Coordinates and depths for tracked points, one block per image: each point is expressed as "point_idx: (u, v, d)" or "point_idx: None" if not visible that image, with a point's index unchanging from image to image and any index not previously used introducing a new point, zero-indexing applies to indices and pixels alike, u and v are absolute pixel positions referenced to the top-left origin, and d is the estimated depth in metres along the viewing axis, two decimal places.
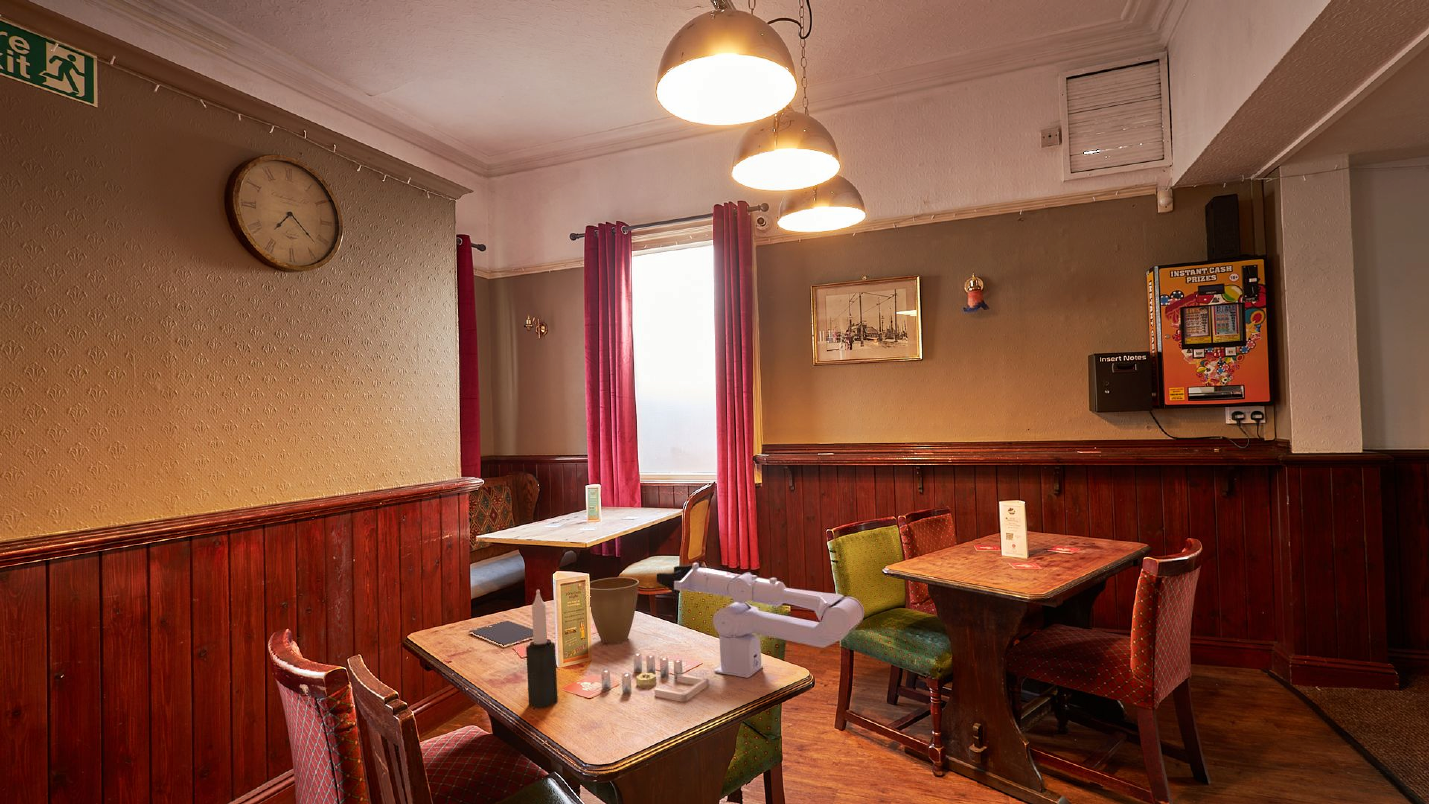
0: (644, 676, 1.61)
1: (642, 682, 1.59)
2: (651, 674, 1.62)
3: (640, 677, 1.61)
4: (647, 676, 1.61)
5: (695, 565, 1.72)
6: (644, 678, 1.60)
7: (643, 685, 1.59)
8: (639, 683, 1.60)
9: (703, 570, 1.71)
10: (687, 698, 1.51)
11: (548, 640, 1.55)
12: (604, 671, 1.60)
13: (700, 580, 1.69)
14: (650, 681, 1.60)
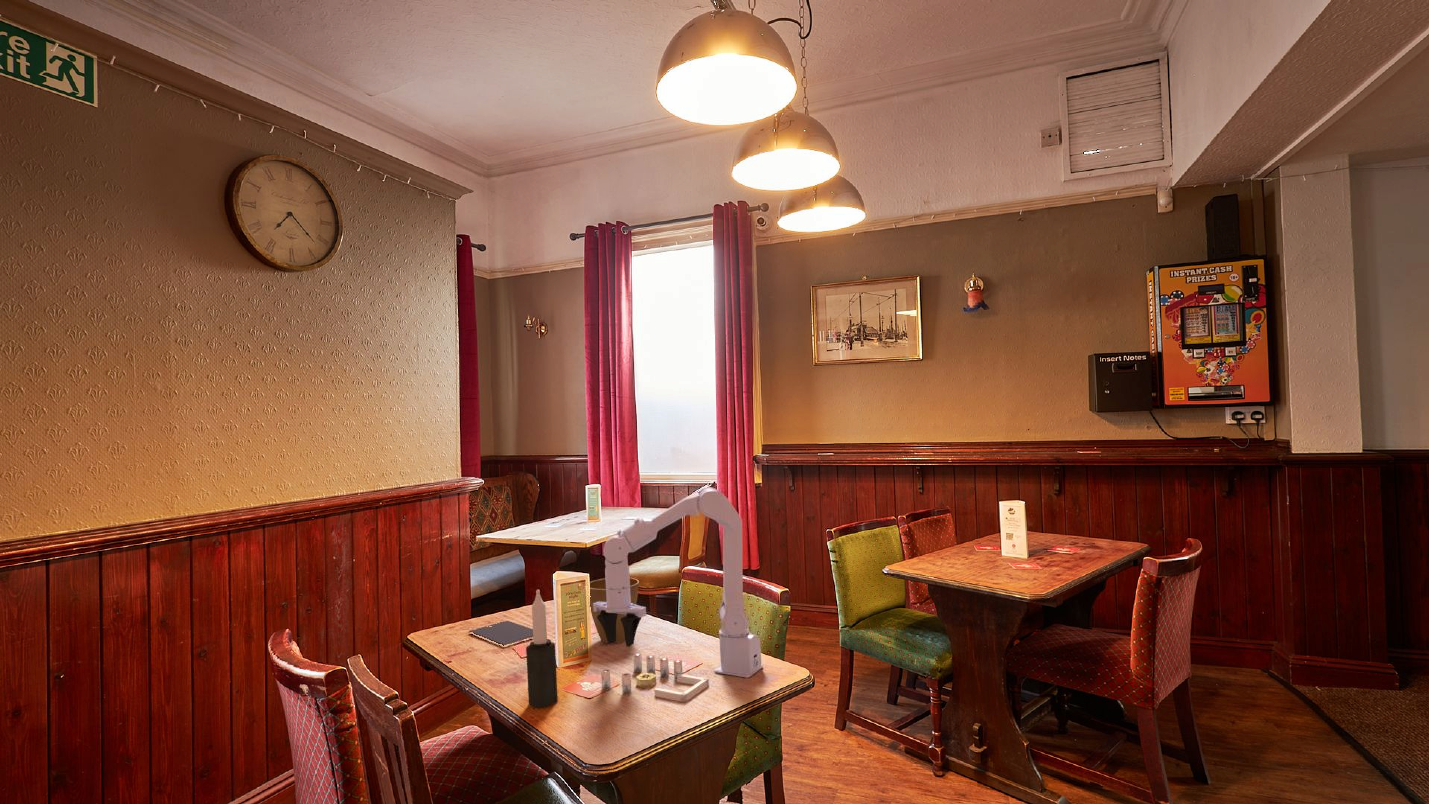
0: (644, 676, 1.61)
1: (642, 682, 1.59)
2: (651, 674, 1.62)
3: (640, 677, 1.61)
4: (647, 676, 1.61)
5: (610, 609, 1.62)
6: (644, 678, 1.60)
7: (643, 685, 1.59)
8: (639, 683, 1.60)
9: (613, 598, 1.63)
10: (687, 698, 1.51)
11: (548, 640, 1.55)
12: (604, 671, 1.60)
13: (625, 594, 1.63)
14: (650, 681, 1.60)
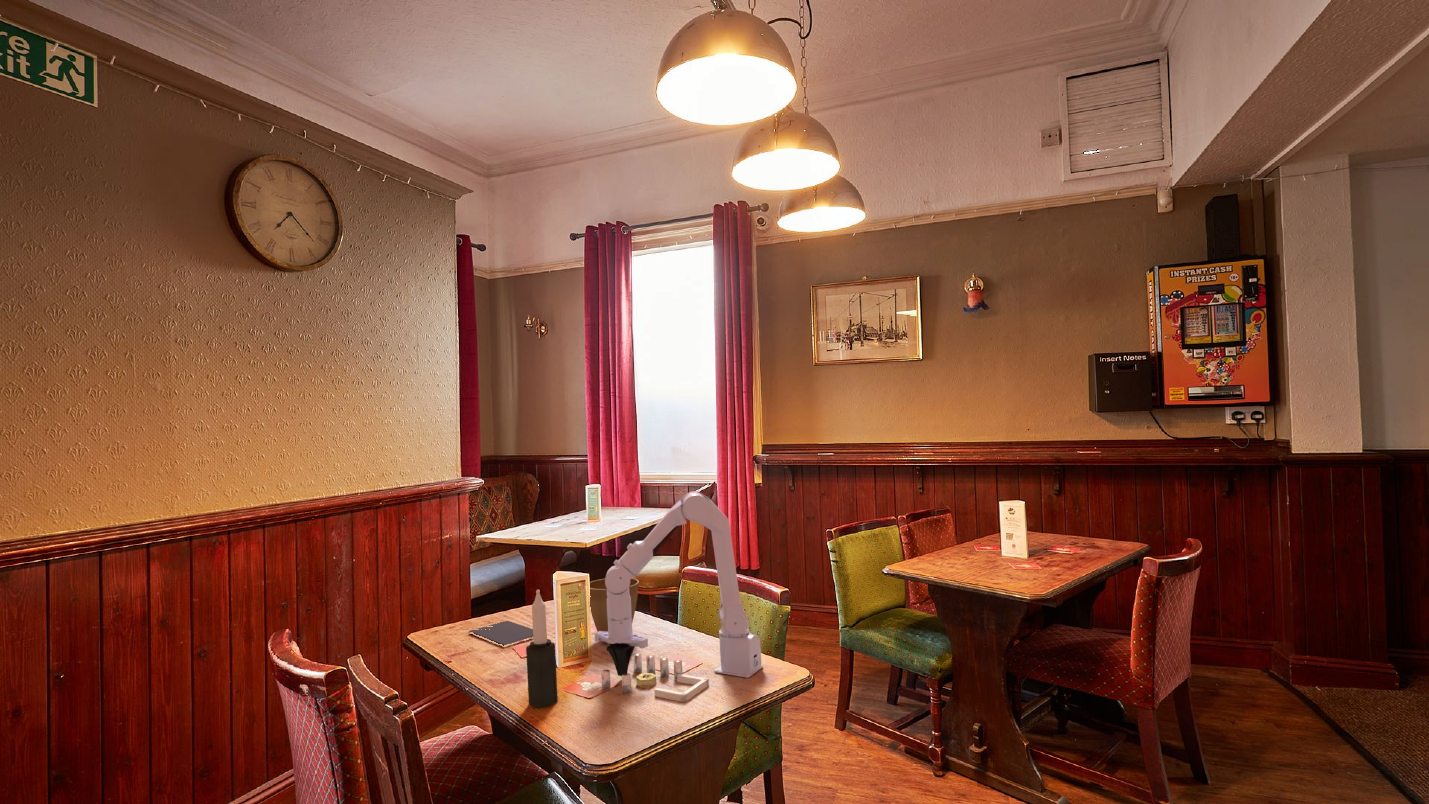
0: (644, 676, 1.61)
1: (642, 682, 1.59)
2: (651, 674, 1.62)
3: (640, 677, 1.61)
4: (647, 676, 1.61)
5: (612, 640, 1.62)
6: (644, 678, 1.60)
7: (643, 685, 1.59)
8: (639, 683, 1.60)
9: (615, 629, 1.62)
10: (687, 698, 1.51)
11: (548, 640, 1.55)
12: (604, 671, 1.60)
13: (627, 625, 1.63)
14: (650, 681, 1.60)
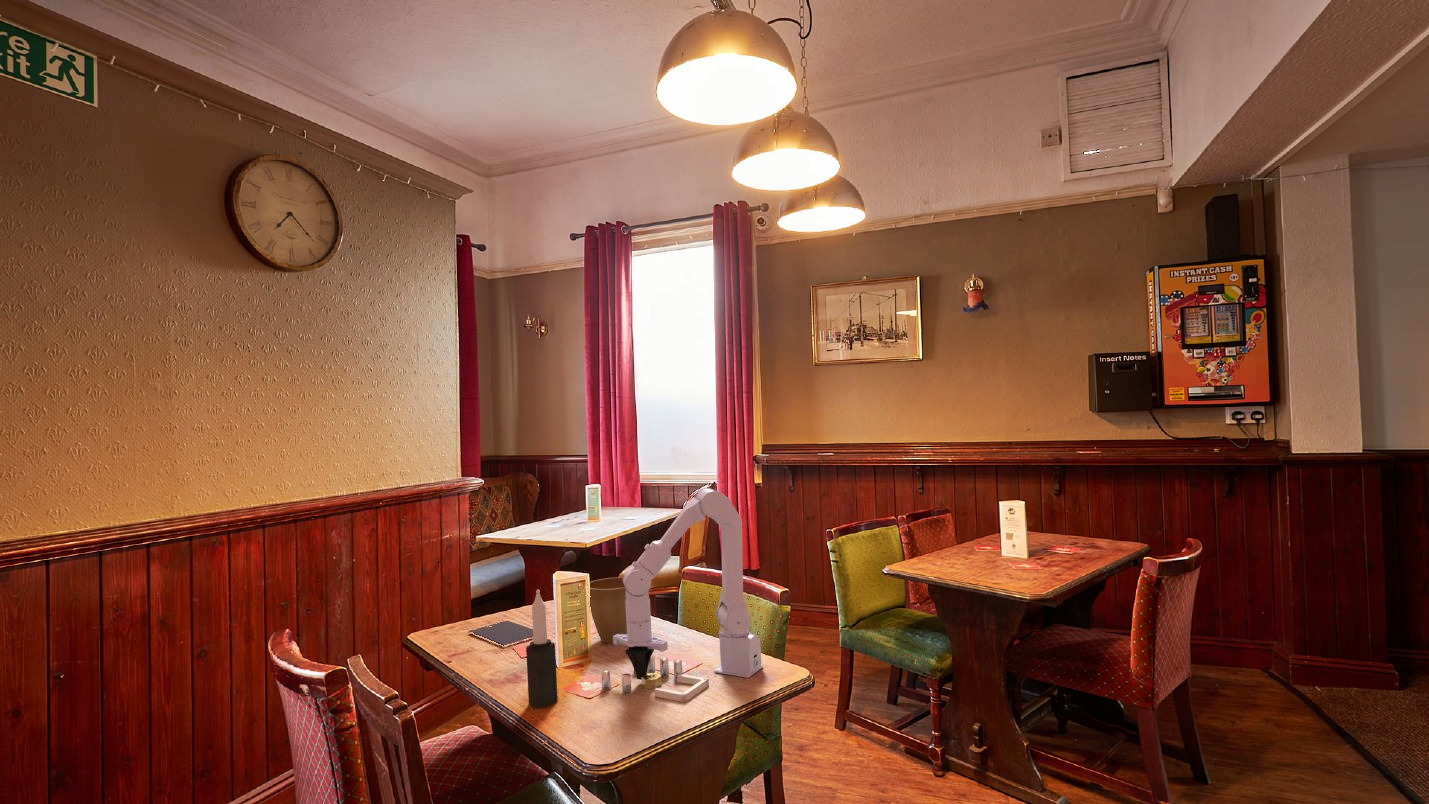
0: (649, 676, 1.60)
1: (647, 682, 1.59)
2: (656, 674, 1.62)
3: (645, 677, 1.60)
4: (652, 676, 1.60)
5: (631, 643, 1.59)
6: (649, 678, 1.60)
7: (648, 685, 1.59)
8: (644, 683, 1.59)
9: (634, 631, 1.60)
10: (687, 698, 1.51)
11: (548, 640, 1.55)
12: (604, 671, 1.60)
13: (646, 628, 1.60)
14: (655, 681, 1.59)
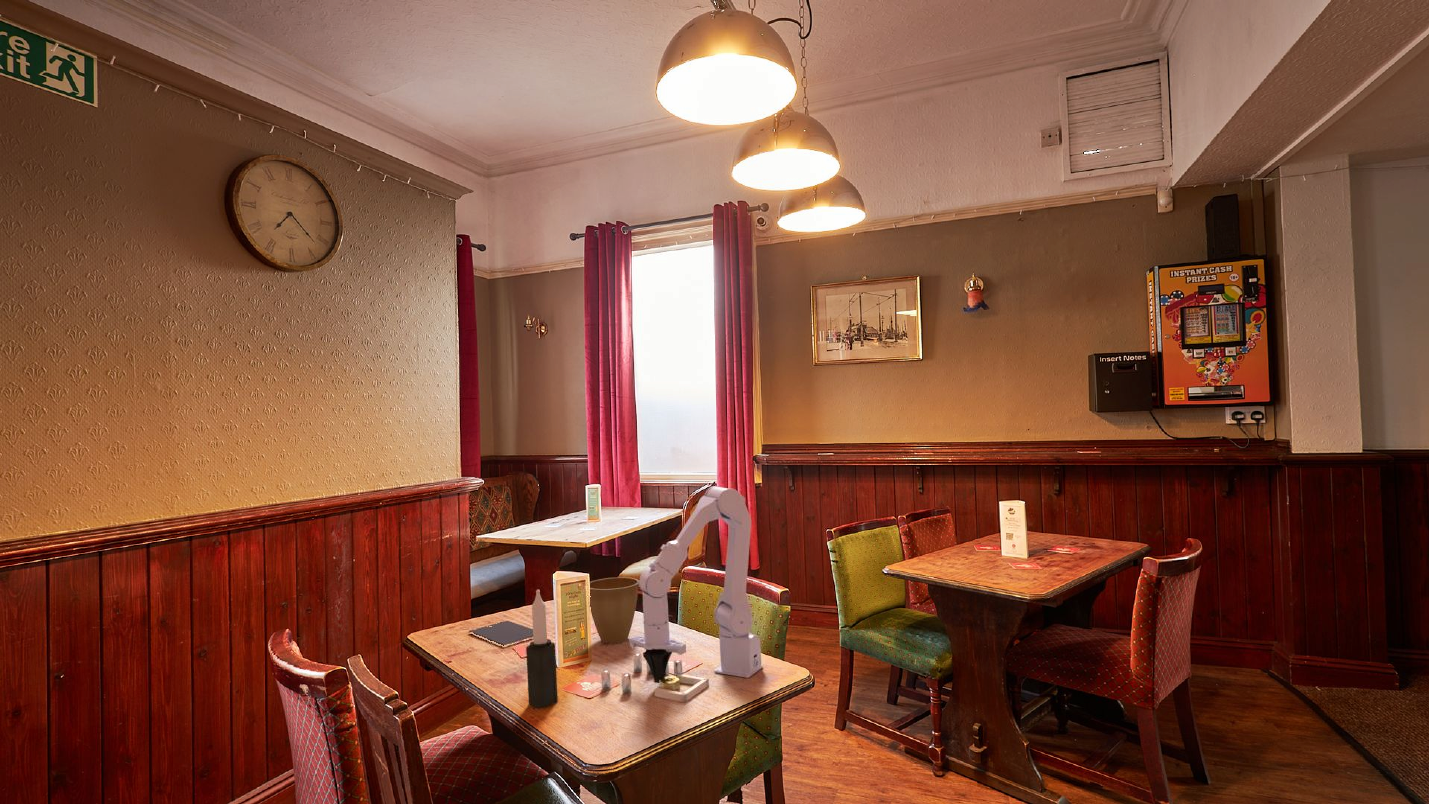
0: (667, 679, 1.58)
1: (665, 686, 1.56)
2: (674, 677, 1.59)
3: (663, 681, 1.57)
4: (670, 680, 1.58)
5: (649, 646, 1.56)
6: (667, 681, 1.57)
7: (667, 689, 1.56)
8: (662, 687, 1.56)
9: (652, 634, 1.57)
10: (687, 698, 1.51)
11: (548, 640, 1.55)
12: (604, 671, 1.60)
13: (664, 630, 1.58)
14: (674, 685, 1.56)
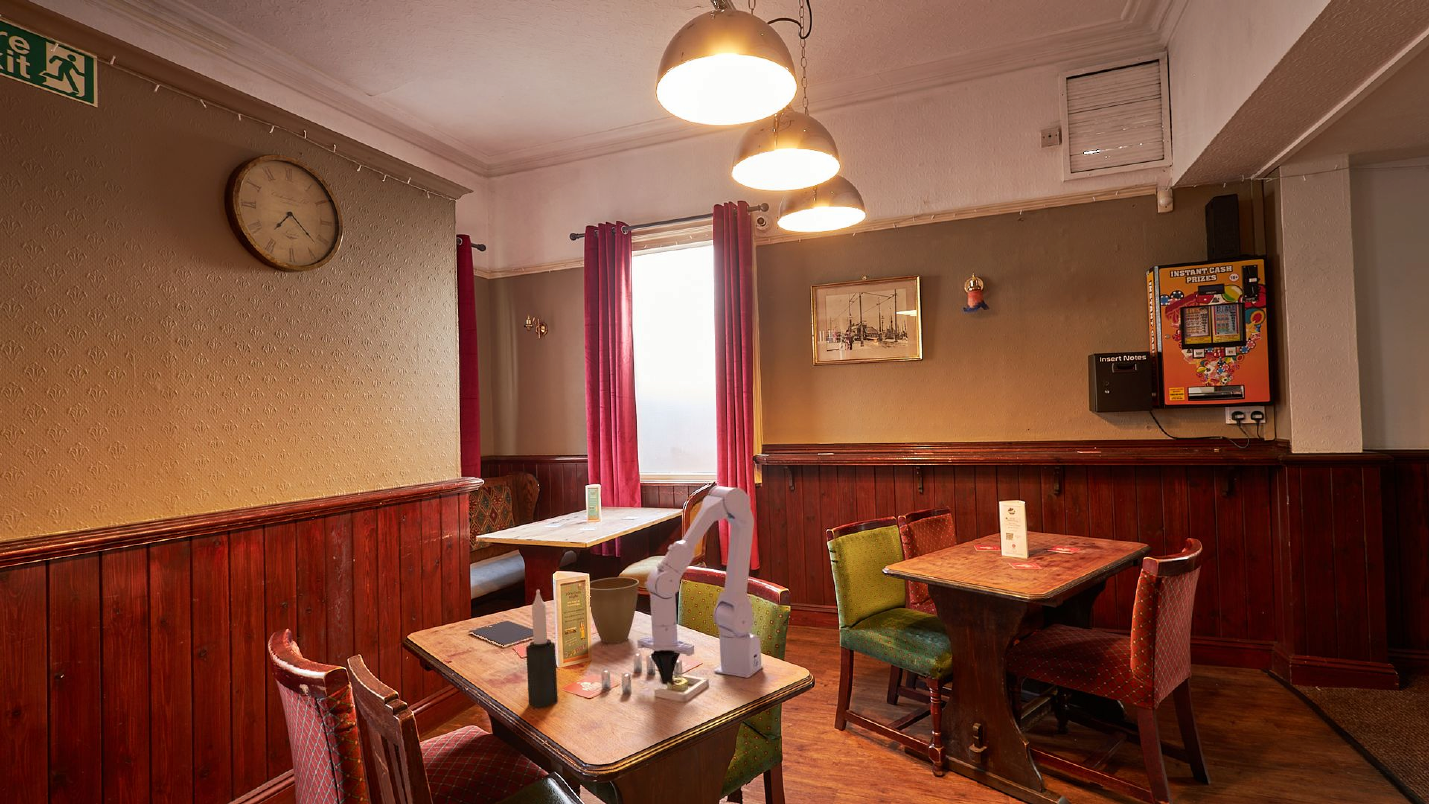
0: (675, 681, 1.57)
1: (673, 688, 1.55)
2: (682, 679, 1.58)
3: (671, 682, 1.56)
4: (678, 681, 1.56)
5: (657, 647, 1.55)
6: (675, 683, 1.56)
7: (675, 690, 1.55)
8: (670, 688, 1.55)
9: (660, 635, 1.56)
10: (687, 698, 1.51)
11: (548, 640, 1.55)
12: (604, 671, 1.60)
13: (672, 631, 1.56)
14: (682, 686, 1.55)
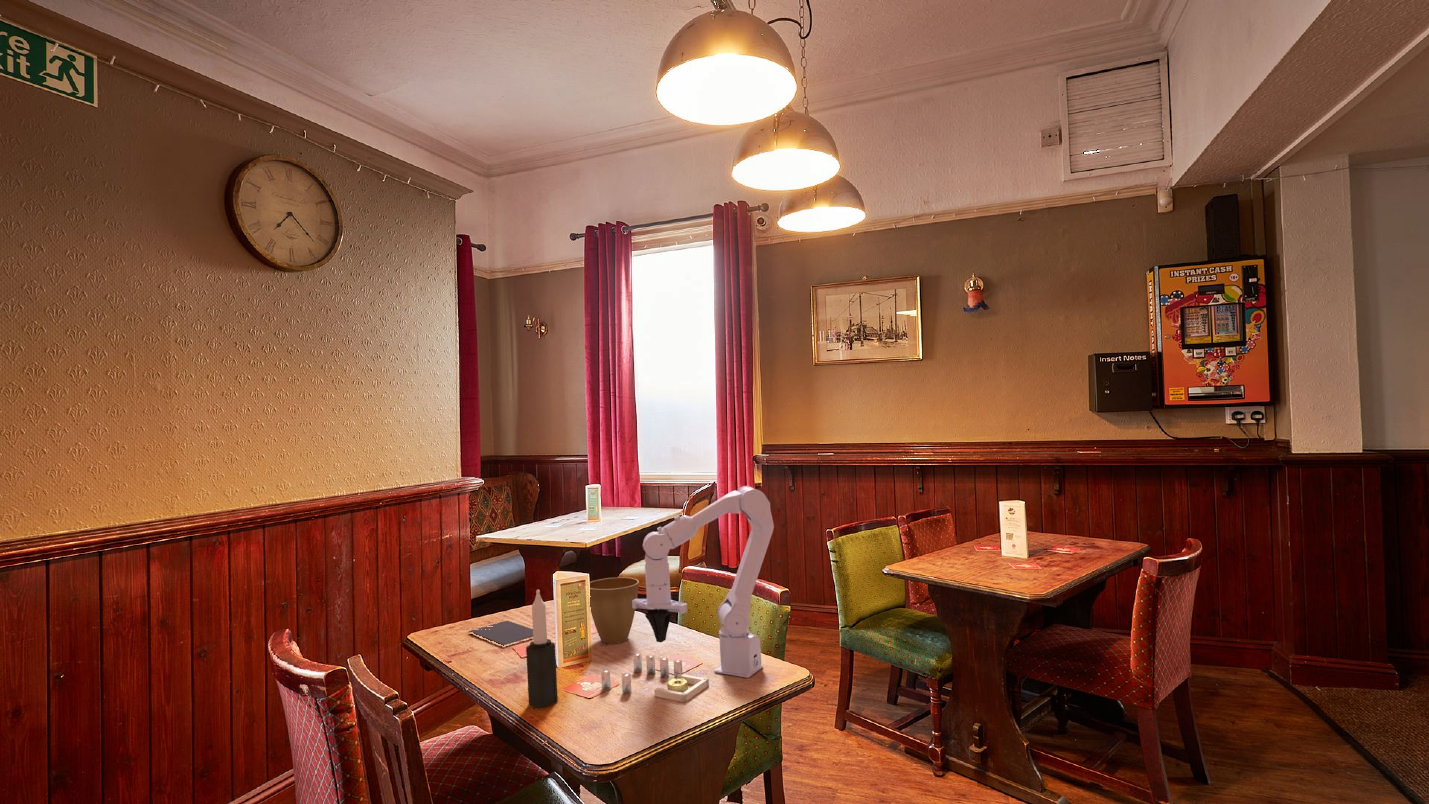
0: (675, 682, 1.57)
1: (673, 688, 1.55)
2: (682, 680, 1.58)
3: (671, 683, 1.56)
4: (679, 682, 1.56)
5: (652, 606, 1.61)
6: (675, 684, 1.56)
7: None
8: (671, 689, 1.55)
9: (654, 594, 1.62)
10: (687, 698, 1.51)
11: (548, 640, 1.55)
12: (604, 671, 1.60)
13: (666, 591, 1.63)
14: (682, 687, 1.55)
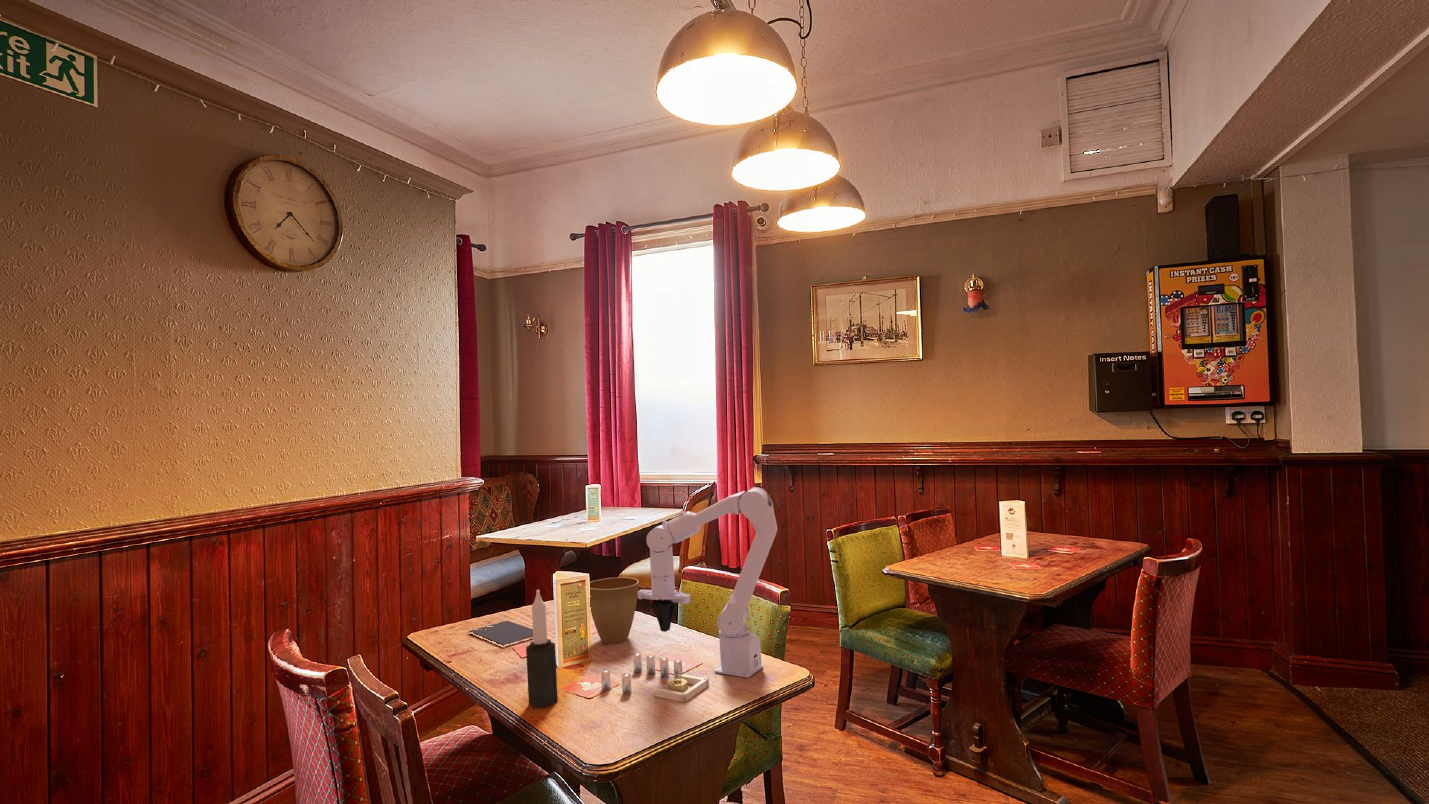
0: (675, 682, 1.57)
1: (673, 688, 1.55)
2: (682, 680, 1.58)
3: (671, 683, 1.56)
4: (679, 682, 1.56)
5: (656, 596, 1.67)
6: (675, 684, 1.56)
7: None
8: (671, 689, 1.55)
9: (658, 585, 1.68)
10: (687, 698, 1.51)
11: (548, 640, 1.55)
12: (604, 671, 1.60)
13: (670, 582, 1.69)
14: (682, 687, 1.55)
